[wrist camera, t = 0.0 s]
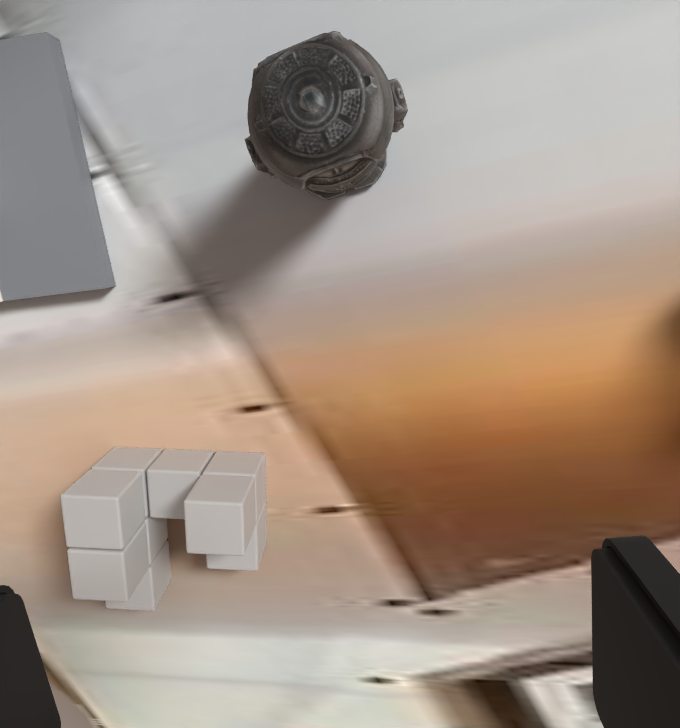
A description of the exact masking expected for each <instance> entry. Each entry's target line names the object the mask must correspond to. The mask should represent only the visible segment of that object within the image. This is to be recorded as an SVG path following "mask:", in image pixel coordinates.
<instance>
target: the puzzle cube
mask: <svg viewBox="0 0 680 728" xmlns="http://www.w3.org/2000/svg"><path fill="white" fill-rule="evenodd" d="M265 498H266V455H265V453H254V452H231V451H217V452H216V453H215V454H214V452H213V451H207V450H184V449H165V450H164V451H163V452H162V449H160V448H137V447H114V448H113V449H112V450H110V451H109V452H108V453H107V454H106V455H105V456H104V457H103V458H101V459H100V460H99V461H98V462H97V463H96V464H95V465H94V466H93V467H92V468H91V470H88V471H87V472H86V473H85V474H84V475H83V476H81V477H80V478H79V479H78V480H77V481H76V482H75V483H74V484H73V485H71V486H70V487H69V488H68V489H67V490H66V491H65V492H64V493H63V494H62V495H61V496H60V499H61V507H62V515H63V523H64V532H65V540H66V546H67V547H70V548H69V549H68V550H67V556H68V564H69V572H70V580H71V588H72V596H73V599H82V600H99V601H105V606H106V608H108V609H125V610H143V611H154V610H155V608H156V607H157V605H158V603H159V601H160V599H161V598H162V596H163V594H164V592H165V590H166V588H167V587H168V585H169V583H170V581H171V570H170V556H169V542H168V541H167V538H168V526H167V519H185V536H186V551H187V553H192V554H206V562H207V568H209V569H226V570H245V571H257V570H258V568H259V565H260V562H261V558H262V555H263V552H264V549H265V546H266V543H267V520H266V501H265Z"/></svg>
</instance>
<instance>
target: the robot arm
mask: <svg viewBox="0 0 680 728" xmlns="http://www.w3.org/2000/svg"><path fill="white" fill-rule="evenodd" d="M591 571H592V652H593V695H594V701H595V705H596V709H597V712H598V715H599V717H600V720H601V722H602V724H603V726H604V728H680V574H679V573H678V572H677V571H676V569H675V568H674V567H673V566H672V565H671V564H670V562H669V561H668V560H667V559H666V558H665V557H664V556H663V554H662V553H661V552H660V551H659V550H658V549H657V547H656V546H655V545H654V544H653V543H652V542H651V540H649V539H648V538H647V537H646V536H632V537H619V538H606V539H605V540H604V542H603V544H602V549H594V550H593V551H592V557H591ZM0 728H61V721H60V716H59V713H58V710H57V707H56V704H55V701H54V697H53V694H52V691H51V688H50V685H49V682H48V678H47V675H46V672H45V669H44V666H43V663H42V659H41V656H40V653H39V650H38V647H37V644H36V640H35V637H34V634H33V631H32V628H31V625H30V621H29V618H28V615H27V612H26V609H25V606H24V603H23V600H22V598H21V597H20V596H19V595H18V594H15V593H14V591H13V590H12V589H11V588H10V587H9V586H5V585H1V586H0Z"/></svg>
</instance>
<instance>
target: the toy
mask: <svg viewBox="0 0 680 728" xmlns="http://www.w3.org/2000/svg"><path fill="white" fill-rule="evenodd" d="M407 111H408V109H407V105H406V101H405V98H404V94H403V91H402V87H401V85H400V83H399V81H398V80H397V79H392V80H388V78H387V77H386V75H385V73H384V71H383V69H382V68H381V66H380V65H379V64H378V62H377V61H376V60H375V59H374V58H373V57H372V56H371V54H370V53H369V52H367V51H366V50H365V49H363V48H362V47H361V46H359V45H358V44H356V43H355V42H353V41H352V40H347V39H346V38H344V37H343V36H342V35H341V34H340V32H336V31H333V32H330V33H323V34H321V35H318V36H315V37H313V38H310V39H308V40H306V41H303V42H301V43H298V44H296V45H294V46H291V47H289V48H287V49H284V50H282V51H280V52H277V53H275V54H273V55H271V56H269V57H267V58H266V59H265V60H263V61H261V62H260V63H259V64H258V67H257V68H255V69H254V71H253V79H252V88H251V92H250V96H249V102H248V125H249V133H250V136H249V137H248V138H246V139H245V142H246V145H247V148H248V151H249V153H250V156H251V158H252V161H253V163H254V165H255V166H256V168H257V170H259V171H262V172H267V173H269V174H270V175H271V178H277V177H278V178H279V179H281V180H282V181H283V182H285V183H287V184H289V185H291V186H293V187H295V188H298V189H301V190H303V189H304V188H306V189H307V191H308V192H310V193H312V194H314V195H315V196H317V197H319V198H322V199H327V200H329V199H332V198H335V197H338V196H341V195H344V194H345V193H346V191H347V190H349V189H351V188H354V189H355V190H357V189H361V188H363V187H366V186H369V185H371V184H374V183H376V181H377V180H378V179H379V178H380V176H381V174H382V173H383V171H384V168H385V166H386V149H387V146H388V144H389V141H390V139H391V134H392V132H398V131H399V130H400V129H401V128H403V127H404V124H403V120H404V117H405V116H406V113H407Z"/></svg>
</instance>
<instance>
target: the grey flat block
mask: <svg viewBox="0 0 680 728" xmlns="http://www.w3.org/2000/svg"><path fill="white" fill-rule="evenodd" d="M113 286H116V285H115V281H114V277H113V272H112V268H111V263H110V259H109V255H108V250H107V246H106V242H105V237H104V233H103V228H102V224H101V220H100V215H99V211H98V207H97V202H96V198H95V193H94V189H93V185H92V180H91V176H90V171H89V167H88V163H87V158H86V154H85V150H84V145H83V141H82V136H81V132H80V128H79V123H78V119H77V114H76V110H75V106H74V101H73V97H72V93H71V88H70V84H69V79H68V75H67V71H66V66H65V62H64V58H63V53H62V49H61V44H60V40H59V39H57V38H55V37H54V36H52V35H50V34H48V33H47V32H45V33H39V34H33V35H27V36H21V37H15V38H9V39H3V40H0V302H2V301H9V300H17V299H25V298H33V297H41V296H49V295H57V294H65V293H73V292H81V291H89V290H97V289H105V288H109V287H113Z"/></svg>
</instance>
